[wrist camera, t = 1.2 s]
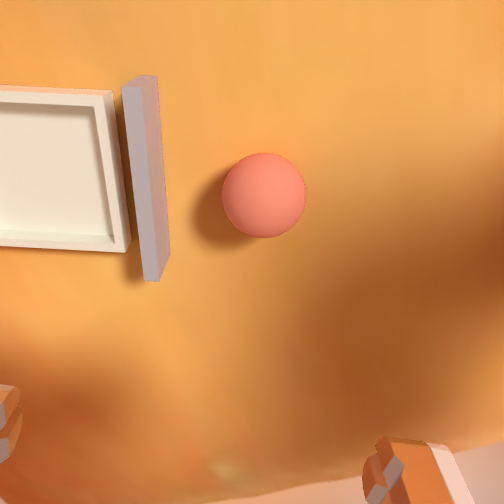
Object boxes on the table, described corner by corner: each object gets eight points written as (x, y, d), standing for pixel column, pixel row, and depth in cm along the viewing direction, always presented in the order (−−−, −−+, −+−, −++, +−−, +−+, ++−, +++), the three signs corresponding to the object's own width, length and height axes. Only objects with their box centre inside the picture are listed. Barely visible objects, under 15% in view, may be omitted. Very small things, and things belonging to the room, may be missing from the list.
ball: (307, 144, 26) (314, 173, 21) (298, 216, 28) (304, 255, 24) (226, 140, 26) (217, 168, 21) (225, 213, 28) (217, 251, 24)
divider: (156, 75, 24) (140, 87, 21) (170, 253, 30) (159, 281, 27) (139, 75, 24) (121, 86, 21) (156, 252, 30) (143, 280, 27)
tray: (112, 90, 24) (103, 95, 23) (131, 240, 30) (125, 252, 28) (-61, 81, 24) (-80, 86, 23) (-10, 233, 30) (-24, 244, 28)
